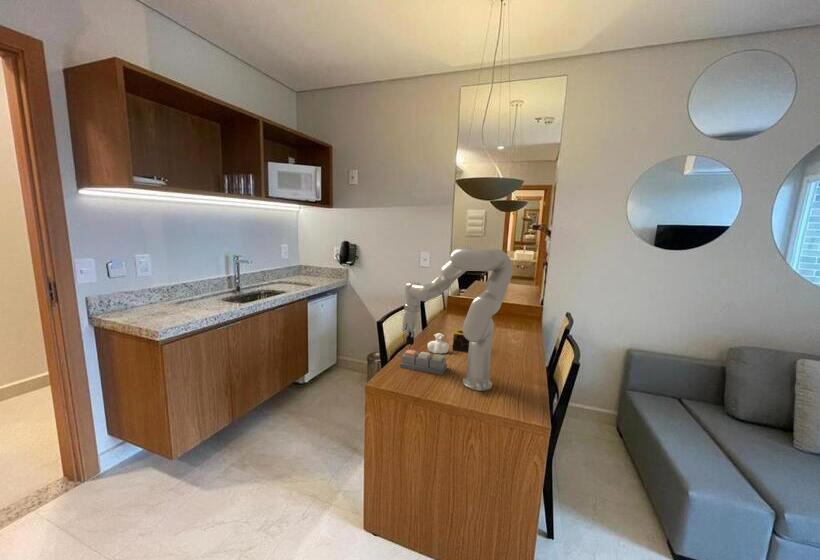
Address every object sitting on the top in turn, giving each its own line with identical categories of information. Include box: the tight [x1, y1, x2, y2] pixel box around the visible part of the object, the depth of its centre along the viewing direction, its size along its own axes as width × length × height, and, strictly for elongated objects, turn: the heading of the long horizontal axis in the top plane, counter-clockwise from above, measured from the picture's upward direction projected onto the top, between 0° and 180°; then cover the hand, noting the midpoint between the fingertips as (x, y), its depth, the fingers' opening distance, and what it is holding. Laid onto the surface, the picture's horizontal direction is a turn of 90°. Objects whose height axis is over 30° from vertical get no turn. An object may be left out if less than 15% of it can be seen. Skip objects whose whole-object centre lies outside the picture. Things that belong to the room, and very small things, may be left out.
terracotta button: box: [404, 349, 417, 357], centre depth 164 cm, size 4×4×3 cm
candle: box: [451, 328, 469, 353], centre depth 190 cm, size 10×10×10 cm
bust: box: [427, 332, 450, 355], centre depth 184 cm, size 12×8×11 cm
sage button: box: [432, 353, 445, 362], centre depth 159 cm, size 4×4×3 cm
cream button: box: [418, 351, 431, 360], centre depth 162 cm, size 4×4×3 cm
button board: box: [399, 352, 448, 376], centre depth 162 cm, size 21×9×6 cm, turn 70°
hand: (410, 343), depth 163 cm, fingers closed
